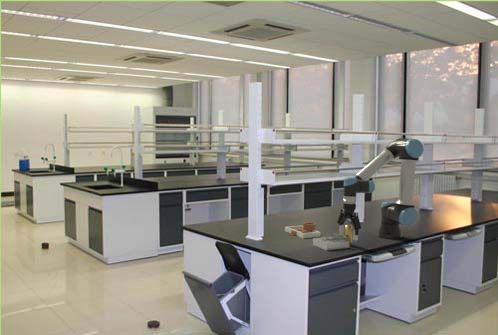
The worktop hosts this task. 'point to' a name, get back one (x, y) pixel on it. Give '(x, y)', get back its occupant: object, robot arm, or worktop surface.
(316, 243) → the jig
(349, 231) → the gold brass cylinder
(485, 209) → the worktop surface
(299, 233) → the cradle
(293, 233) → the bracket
